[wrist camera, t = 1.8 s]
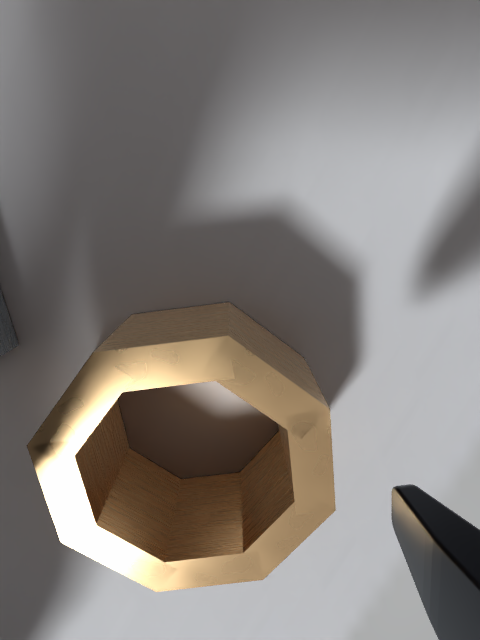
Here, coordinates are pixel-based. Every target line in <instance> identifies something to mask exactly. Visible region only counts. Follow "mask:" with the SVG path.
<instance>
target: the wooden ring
mask: <svg viewBox="0 0 480 640" xmlns="http://www.w3.org/2000/svg"><path fill="white" fill-rule="evenodd" d="M209 381H217V382H218V383H220V384H221V385H223V386H224V387H225V388H227V389H228V390H230V391H231V392H233V393H234V394H236V395H237V396H239V397H240V398H242V399H243V400H244V401H246V402H247V403H249V404H250V405H252V406H253V407H255V408H256V409H258V410H259V411H260V412H262V413H263V414H265V415H266V416H268V417H269V418H271V419H272V420H274V421H275V422H276V423H278V426H279V431H278V432H277V433H276V434H275V435H274V436H273V437H272V439H271V440H270V441H269V442H268V443H267V444H266V445H265V446H264V447H263V448H262V449H261V450H260V452H259V453H258V454H257V455H256V456H255V457H254V458H253V459H252V460H251V461H250V462H249V463H248V465H247V466H246V467H245V468H244V469H243V470H242V471H241V472H237V473H229V474H220V475H212V476H203V477H195V478H187V479H180V478H178V477H176V476H175V475H173V474H171V473H170V472H168V471H167V470H165V469H163V468H162V467H160V466H158V465H157V464H155V463H153V462H152V461H150V460H148V459H147V458H145V457H143V456H142V455H140V454H138V453H137V452H135V451H133V450H132V449H130V447H129V443H128V439H127V435H126V432H125V428H124V424H123V420H122V416H121V412H120V408H119V404H118V400H117V399H118V397H119V396H120V395H121V393H122V392H128V391H136V390H144V389H152V388H161V387H169V386H177V385H185V384H193V383H201V382H209ZM27 448H28V451H29V454H30V456H31V459H32V462H33V465H34V468H35V470H36V473H37V476H38V479H39V482H40V485H41V487H42V490H43V493H44V496H45V499H46V502H47V504H48V507H49V510H50V513H51V516H52V519H53V521H54V524H55V527H56V530H57V533H58V536H59V538H60V541H61V543H63V544H65V545H67V546H69V547H71V548H73V549H75V550H77V551H78V552H80V553H82V554H84V555H86V556H88V557H90V558H92V559H94V560H96V561H98V562H100V563H102V564H103V565H105V566H107V567H109V568H111V569H113V570H115V571H117V572H119V573H121V574H123V575H125V576H127V577H129V578H130V579H132V580H134V581H136V582H138V583H140V584H142V585H144V586H146V587H148V588H150V589H152V590H154V591H155V592H160V591H169V590H178V589H186V588H195V587H204V586H213V585H222V584H230V583H239V582H248V581H257V580H263V579H264V578H265V577H266V576H267V575H268V574H270V573H271V572H272V571H273V570H274V569H275V568H276V567H277V566H278V565H279V564H280V563H281V562H282V561H283V560H284V559H285V558H286V557H287V556H288V555H289V554H290V553H291V552H293V551H294V550H295V549H296V548H297V547H298V546H299V545H300V544H301V543H302V542H303V541H304V540H305V539H306V538H307V537H308V536H309V535H310V534H311V533H312V532H313V531H315V530H316V529H317V528H318V527H319V526H320V525H321V524H322V523H323V522H324V521H325V520H326V519H327V518H328V517H329V516H330V515H331V514H332V513H333V512H334V511H335V492H334V474H333V456H332V438H331V420H330V408H329V406H328V404H327V402H326V401H325V399H324V397H323V395H322V393H321V391H320V389H319V387H318V385H317V383H316V381H315V379H314V377H313V375H312V373H311V371H310V369H309V367H308V365H307V363H306V361H305V359H304V357H302V356H301V355H300V354H298V353H297V352H296V351H294V350H293V349H292V348H290V347H289V346H288V345H286V344H285V343H283V342H282V341H281V340H279V339H278V338H277V337H275V336H274V335H273V334H271V333H270V332H269V331H267V330H266V329H265V328H263V327H262V326H261V325H259V324H258V323H257V322H255V321H254V320H253V319H251V318H250V317H249V316H247V315H246V314H245V313H243V312H242V311H241V310H239V309H238V308H237V307H235V306H234V305H233V304H231V303H230V302H226V303H218V304H210V305H202V306H194V307H186V308H178V309H170V310H163V311H155V312H147V313H139V314H132V315H131V316H130V317H129V318H128V319H127V320H126V321H125V322H124V323H123V324H122V325H121V326H120V327H118V328H117V329H116V330H115V331H114V332H113V333H112V334H111V335H110V336H109V337H108V338H107V339H106V340H105V341H104V342H103V343H102V344H101V345H100V346H99V347H98V348H97V349H96V350H95V351H94V352H93V353H92V354H91V356H90V357H89V359H88V360H87V362H86V363H85V364H84V366H83V367H82V369H81V370H80V371H79V373H78V374H77V376H76V377H75V378H74V380H73V381H72V383H71V384H70V386H69V387H68V388H67V390H66V391H65V393H64V394H63V395H62V397H61V398H60V400H59V401H58V402H57V404H56V405H55V407H54V408H53V410H52V411H51V412H50V414H49V415H48V417H47V418H46V419H45V421H44V422H43V424H42V425H41V426H40V428H39V429H38V431H37V432H36V434H35V435H34V436H33V438H32V439H31V441H30V442H29V443H28V445H27Z"/></svg>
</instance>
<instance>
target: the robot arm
mask: <svg viewBox="0 0 480 640" xmlns="http://www.w3.org/2000/svg"><path fill="white" fill-rule="evenodd" d="M392 524H393V528H394V531H395V534H396V536H397V539H398V541H399V544H400V546H401V549H402V551H403V554H404V557H405V559H406V562H407V564H408V567H409V569H410V572H411V574H412V577H413V580H414V582H415V585H416V587H417V590H418V592H419V595H420V597H421V600H422V602H423V605H424V608H425V610H426V612H427V615H428V617H429V620H430V622H431V624H432V626H433V628H434V630H435V632H436V635H437V637H438V639H439V640H480V530H479V529H478V528H476V527H475V526H473V525H472V524H470V523H469V522H468V521H466V520H465V519H463V518H462V517H460V516H459V515H457V514H456V513H454V512H453V511H452V510H450V509H449V508H447V507H446V506H444V505H443V504H441V503H440V502H439V501H437V500H436V499H434V498H433V497H431V496H430V495H428V494H427V493H426V492H424V491H423V490H421V489H420V488H418V487H417V486H415V485H411V484H410V485H401V486H395V487H394V488H393V489H392Z"/></svg>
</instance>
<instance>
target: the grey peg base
mask: <svg viewBox="0 0 480 640" xmlns="http://www.w3.org/2000/svg"><path fill="white" fill-rule="evenodd" d="M18 345H19V344H18V341H17V338H16V335H15V332H14V329H13V325H12V322H11V319H10V316H9V313H8V310H7V307H6V304H5V301H4V298H3V295H2V292H1V289H0V356H1V355H3V354H5V353H6V352H8V351H10V350H11V349H13V348H15V347H16V346H18Z"/></svg>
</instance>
